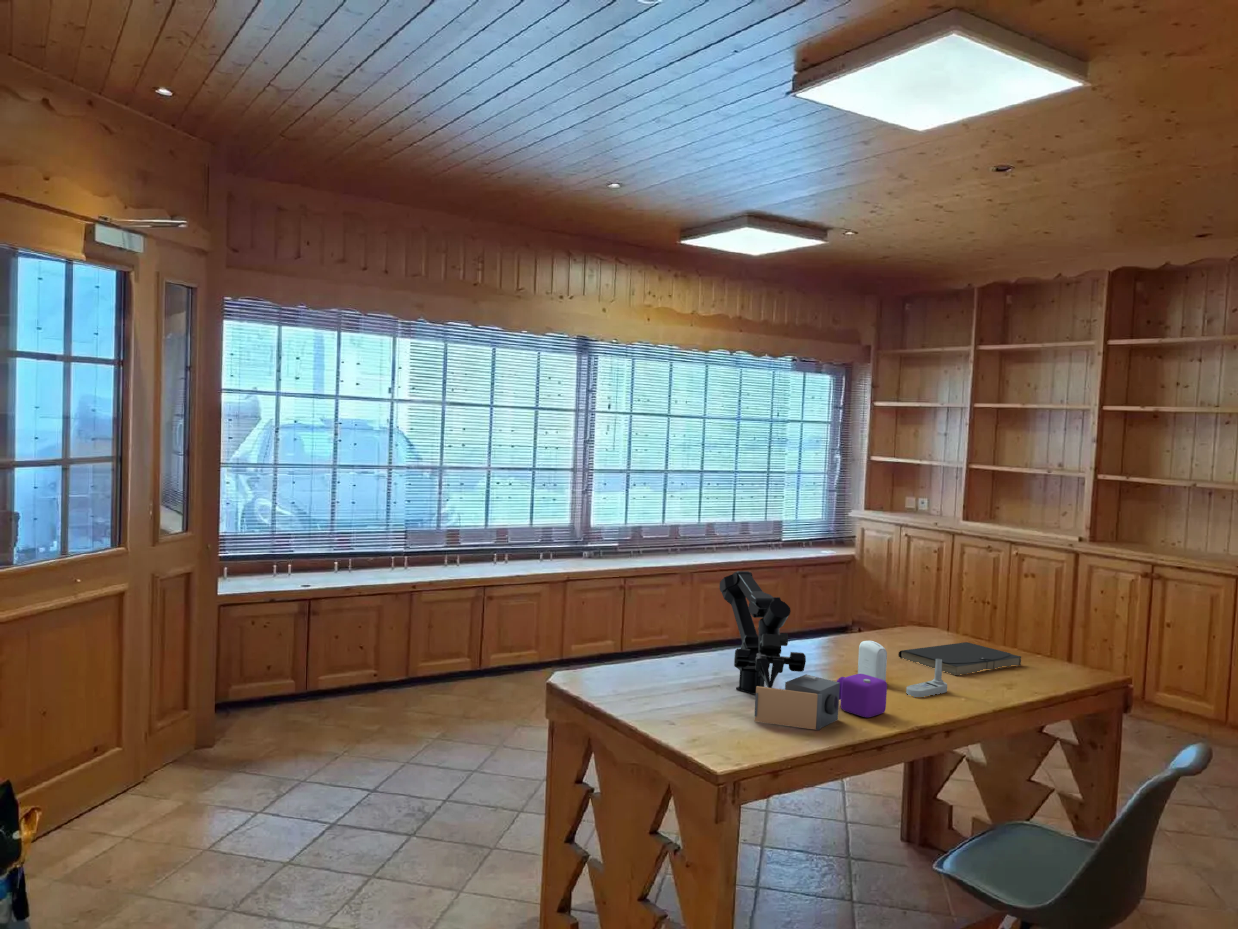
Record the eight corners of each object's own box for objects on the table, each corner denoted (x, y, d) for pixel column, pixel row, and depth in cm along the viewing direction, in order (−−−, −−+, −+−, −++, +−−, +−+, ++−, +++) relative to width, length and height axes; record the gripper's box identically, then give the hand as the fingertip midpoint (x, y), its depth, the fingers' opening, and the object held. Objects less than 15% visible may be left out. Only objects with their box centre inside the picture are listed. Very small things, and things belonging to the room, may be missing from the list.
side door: (754, 722, 224) (755, 687, 224) (754, 720, 226) (756, 686, 225) (819, 731, 220) (821, 696, 219) (820, 729, 221) (822, 694, 221)
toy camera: (842, 700, 247) (844, 666, 246) (889, 712, 238) (891, 676, 238) (825, 709, 239) (827, 673, 238) (873, 721, 230) (875, 684, 229)
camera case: (783, 719, 228) (785, 679, 228) (804, 710, 236) (806, 672, 236) (821, 730, 221) (824, 689, 220) (842, 721, 229) (844, 681, 228)
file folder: (957, 665, 277) (898, 648, 298) (956, 678, 277) (898, 660, 298) (1022, 655, 294) (962, 640, 315) (1022, 667, 294) (962, 651, 315)
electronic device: (903, 663, 256) (937, 656, 263) (902, 695, 256) (935, 687, 264) (918, 667, 251) (952, 660, 259) (917, 701, 252) (950, 692, 260)
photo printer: (855, 677, 272) (857, 638, 271) (866, 676, 273) (869, 637, 273) (875, 687, 262) (878, 646, 261) (887, 686, 263) (889, 645, 263)
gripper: (736, 619, 234) (736, 670, 223) (806, 623, 232) (809, 675, 222) (734, 641, 242) (733, 691, 232) (802, 645, 240) (804, 696, 230)
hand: (770, 688), depth 228 cm, fingers closed
